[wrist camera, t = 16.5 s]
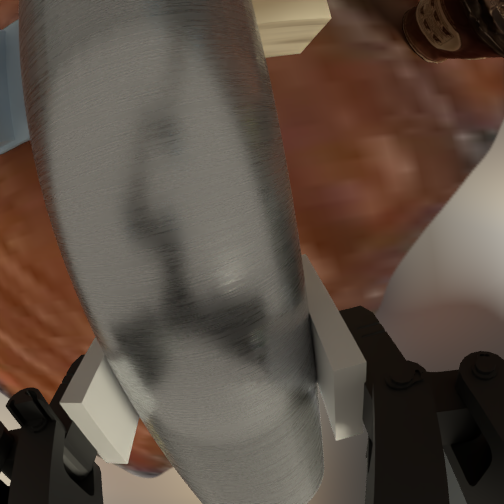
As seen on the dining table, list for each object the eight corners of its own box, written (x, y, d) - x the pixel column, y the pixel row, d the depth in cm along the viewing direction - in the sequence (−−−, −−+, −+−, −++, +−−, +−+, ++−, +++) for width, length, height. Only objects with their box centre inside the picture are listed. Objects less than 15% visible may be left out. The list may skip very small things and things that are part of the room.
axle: (71, 31, 8) (-23, -24, 3) (230, -15, 8) (241, -122, 3) (194, 431, 15) (192, 530, 9) (308, 410, 15) (338, 507, 9)
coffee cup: (399, 70, 25) (489, 46, 12) (380, -4, 22) (452, -57, 10) (464, 75, 25) (553, 66, 12) (447, 7, 22) (525, -24, 9)
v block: (-9, 42, 20) (-27, 37, 17) (62, -1, 20) (46, -11, 16) (2, 153, 25) (-18, 157, 21) (75, 119, 25) (57, 118, 21)
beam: (87, -56, 17) (50, -96, 8) (256, -96, 17) (264, -150, 8) (133, 233, 29) (94, 274, 20) (325, 193, 28) (366, 219, 20)
